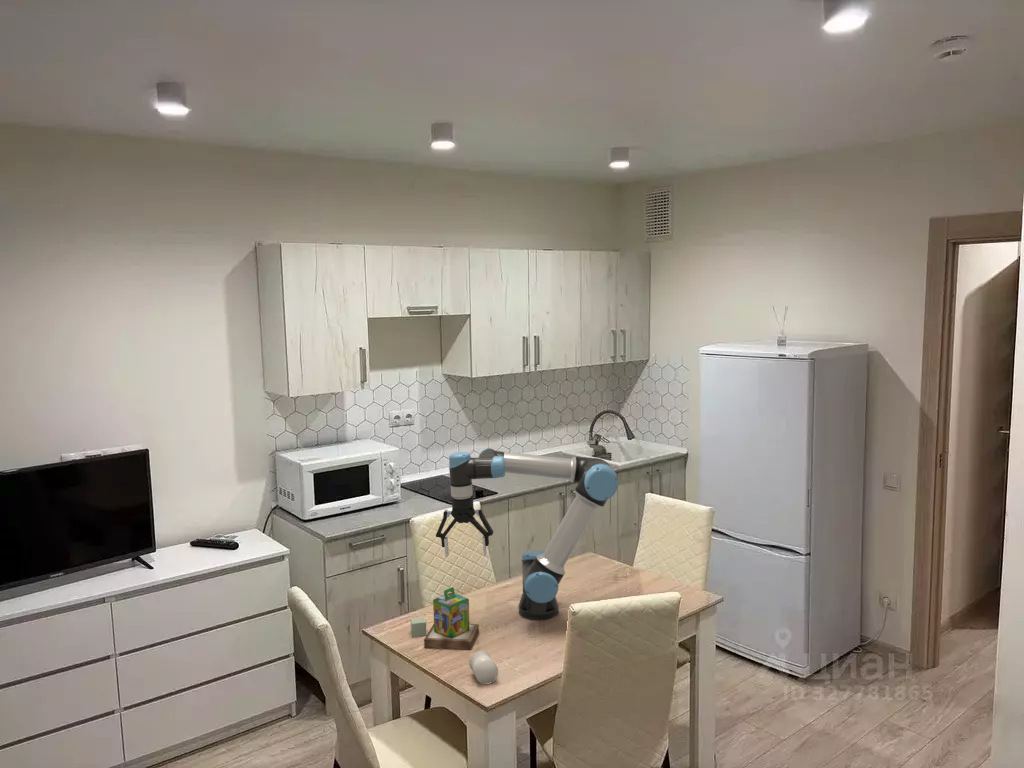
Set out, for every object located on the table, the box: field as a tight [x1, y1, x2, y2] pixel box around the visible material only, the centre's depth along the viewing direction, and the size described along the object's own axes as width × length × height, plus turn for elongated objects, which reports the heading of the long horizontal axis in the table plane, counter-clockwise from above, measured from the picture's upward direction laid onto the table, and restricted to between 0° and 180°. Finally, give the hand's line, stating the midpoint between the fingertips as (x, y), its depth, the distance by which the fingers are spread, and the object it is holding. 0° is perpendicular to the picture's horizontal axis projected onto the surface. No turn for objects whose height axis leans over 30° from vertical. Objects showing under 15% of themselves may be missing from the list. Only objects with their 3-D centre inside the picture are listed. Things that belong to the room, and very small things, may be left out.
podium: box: [423, 623, 480, 651], centre depth 260 cm, size 16×14×3 cm
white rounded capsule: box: [469, 650, 499, 685], centre depth 232 cm, size 7×7×8 cm
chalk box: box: [432, 586, 470, 638], centre depth 259 cm, size 9×9×15 cm
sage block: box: [410, 616, 428, 638], centre depth 266 cm, size 5×5×5 cm
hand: (466, 555), depth 266 cm, fingers open, 13 cm apart
